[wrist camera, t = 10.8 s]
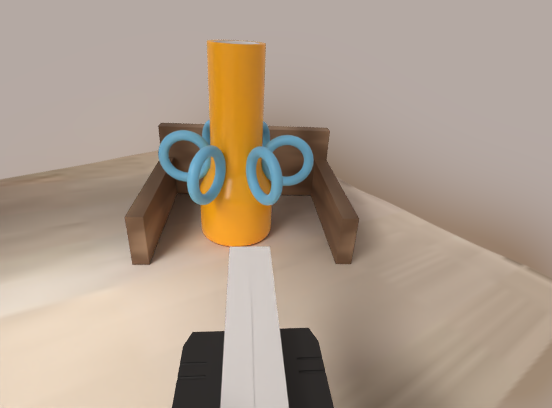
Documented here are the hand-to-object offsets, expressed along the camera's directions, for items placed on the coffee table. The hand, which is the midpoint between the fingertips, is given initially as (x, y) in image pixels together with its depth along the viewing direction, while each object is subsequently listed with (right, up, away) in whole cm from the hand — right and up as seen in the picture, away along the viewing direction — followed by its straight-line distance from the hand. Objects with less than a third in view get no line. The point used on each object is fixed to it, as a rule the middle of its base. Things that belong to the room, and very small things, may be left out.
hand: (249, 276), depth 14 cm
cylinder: (-2, 0, +18) cm, 18 cm away
